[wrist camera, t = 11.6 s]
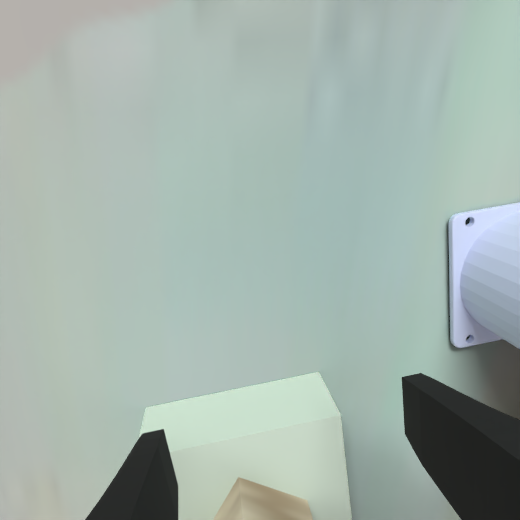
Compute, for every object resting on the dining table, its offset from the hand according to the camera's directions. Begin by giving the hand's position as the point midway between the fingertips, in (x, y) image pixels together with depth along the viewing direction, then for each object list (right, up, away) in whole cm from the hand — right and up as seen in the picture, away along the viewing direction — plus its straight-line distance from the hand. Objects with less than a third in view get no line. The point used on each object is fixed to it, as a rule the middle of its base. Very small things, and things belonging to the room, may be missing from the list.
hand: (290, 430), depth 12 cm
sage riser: (-2, -7, +13) cm, 15 cm away
